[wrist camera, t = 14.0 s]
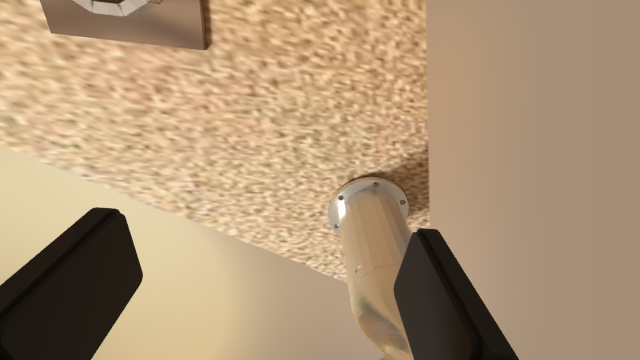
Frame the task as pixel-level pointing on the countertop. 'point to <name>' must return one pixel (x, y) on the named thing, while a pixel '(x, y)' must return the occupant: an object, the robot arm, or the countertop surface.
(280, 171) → the countertop surface
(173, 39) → the walnut board
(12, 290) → the robot arm
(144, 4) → the steel ring
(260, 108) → the countertop surface
